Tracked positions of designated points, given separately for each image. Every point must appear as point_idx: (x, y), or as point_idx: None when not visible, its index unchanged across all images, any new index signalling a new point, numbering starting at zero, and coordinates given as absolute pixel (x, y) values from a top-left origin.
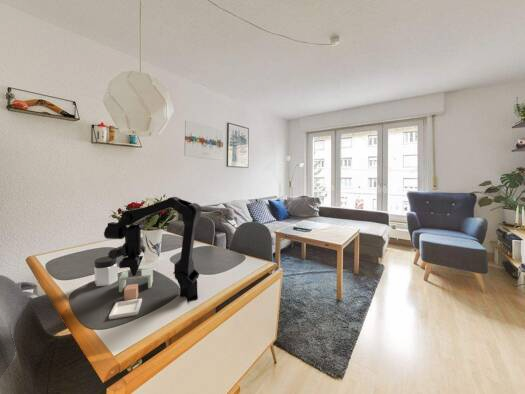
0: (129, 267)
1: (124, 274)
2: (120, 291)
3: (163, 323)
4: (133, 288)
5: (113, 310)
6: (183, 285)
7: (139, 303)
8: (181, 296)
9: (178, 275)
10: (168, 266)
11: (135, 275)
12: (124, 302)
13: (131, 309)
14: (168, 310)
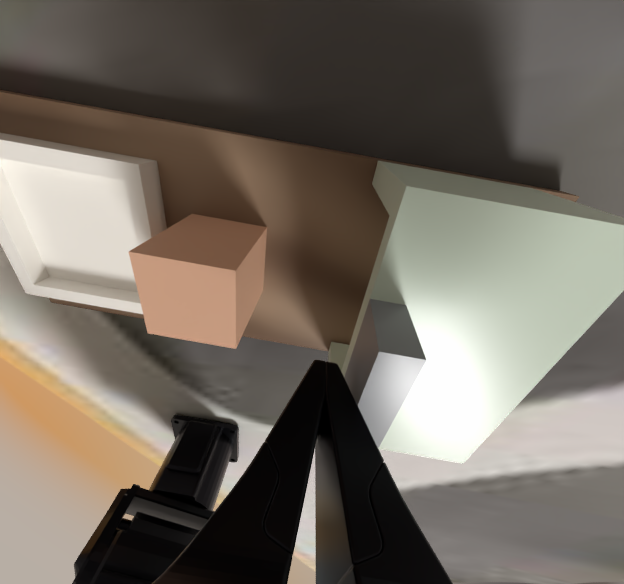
0: (228, 494)
1: (515, 258)
2: (375, 173)
3: (33, 351)
4: (150, 319)
5: (17, 155)
6: (119, 502)
7: (106, 305)
8: (185, 429)
9: (77, 572)
10: (615, 439)
11: (349, 368)
12: (137, 222)
13: (84, 258)
14: (120, 374)
